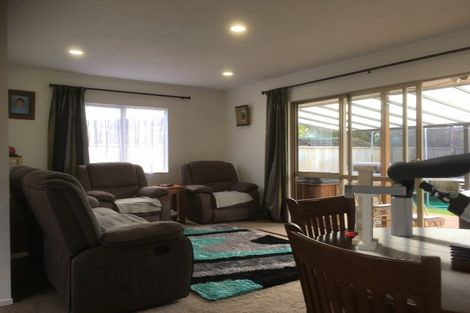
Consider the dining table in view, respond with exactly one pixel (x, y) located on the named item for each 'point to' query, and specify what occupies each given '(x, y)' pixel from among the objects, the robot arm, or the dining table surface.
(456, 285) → the dining table surface
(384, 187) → the hook bar
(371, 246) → the rest post
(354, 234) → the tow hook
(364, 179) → the tall stand
